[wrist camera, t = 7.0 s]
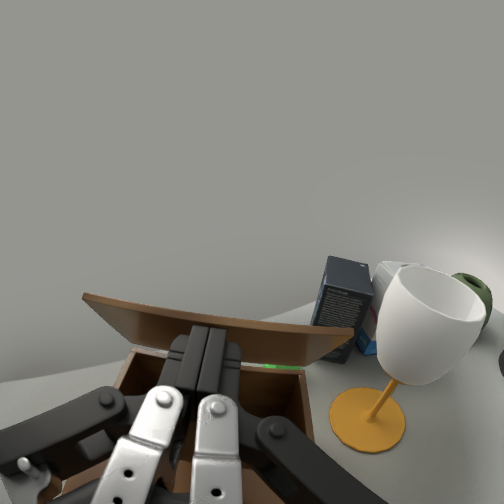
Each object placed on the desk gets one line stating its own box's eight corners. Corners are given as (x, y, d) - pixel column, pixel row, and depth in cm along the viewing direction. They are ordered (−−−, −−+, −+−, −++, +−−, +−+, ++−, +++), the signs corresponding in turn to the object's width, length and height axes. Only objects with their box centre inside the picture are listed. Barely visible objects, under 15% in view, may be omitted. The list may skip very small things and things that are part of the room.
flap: (81, 298, 11) (83, 291, 12) (131, 343, 18) (132, 338, 19) (354, 336, 12) (354, 327, 12) (306, 366, 19) (306, 361, 19)
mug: (438, 296, 49) (453, 260, 46) (484, 322, 40) (501, 286, 37) (415, 323, 40) (435, 279, 36) (473, 359, 31) (498, 314, 27)
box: (310, 320, 39) (328, 254, 35) (347, 329, 38) (369, 264, 34) (301, 355, 32) (324, 281, 28) (345, 365, 31) (375, 294, 27)
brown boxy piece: (103, 558, 7) (43, 547, 3) (146, 407, 22) (130, 338, 18) (286, 586, 7) (335, 596, 3) (281, 425, 22) (307, 362, 19)
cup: (326, 385, 28) (377, 255, 21) (395, 388, 27) (457, 271, 21) (330, 454, 19) (418, 321, 13) (411, 449, 19) (508, 327, 12)
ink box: (363, 357, 32) (397, 278, 28) (349, 333, 37) (376, 259, 32) (410, 351, 33) (444, 280, 29) (395, 330, 38) (423, 262, 33)
